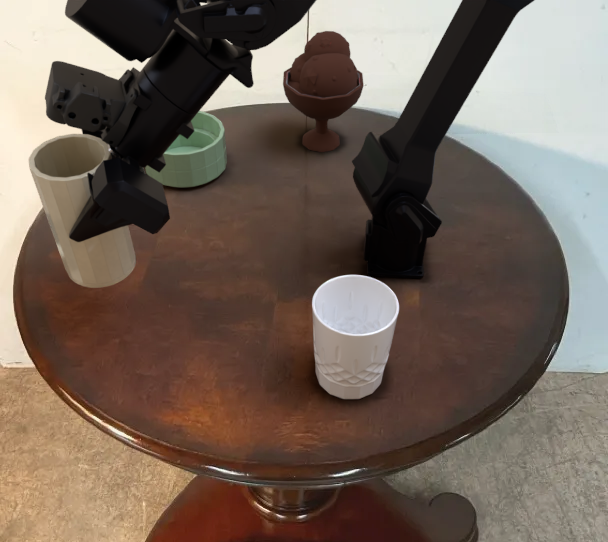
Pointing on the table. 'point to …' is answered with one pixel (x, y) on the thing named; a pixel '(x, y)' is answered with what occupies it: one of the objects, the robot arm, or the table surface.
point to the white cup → (352, 334)
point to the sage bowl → (194, 155)
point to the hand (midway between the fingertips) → (70, 215)
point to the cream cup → (79, 209)
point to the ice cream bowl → (323, 86)
